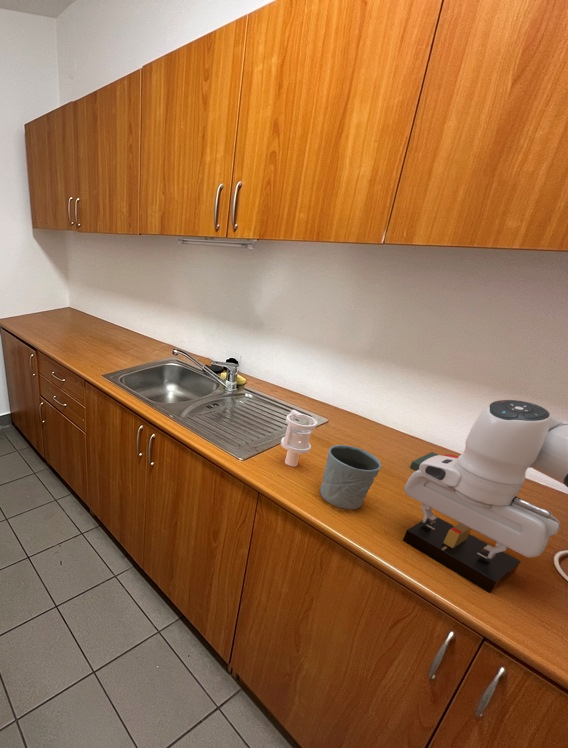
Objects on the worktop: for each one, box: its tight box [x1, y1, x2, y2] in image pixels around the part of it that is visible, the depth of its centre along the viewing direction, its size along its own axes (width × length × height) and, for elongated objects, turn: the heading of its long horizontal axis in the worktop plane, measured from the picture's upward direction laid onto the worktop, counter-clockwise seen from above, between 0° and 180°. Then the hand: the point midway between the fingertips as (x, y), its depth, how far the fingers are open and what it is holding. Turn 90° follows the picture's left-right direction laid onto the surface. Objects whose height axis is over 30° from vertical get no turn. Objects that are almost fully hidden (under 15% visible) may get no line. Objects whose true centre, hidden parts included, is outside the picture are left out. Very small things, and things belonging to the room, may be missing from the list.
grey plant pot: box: [319, 444, 382, 510], centre depth 94 cm, size 10×10×12 cm
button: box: [444, 453, 459, 458], centre depth 102 cm, size 4×4×2 cm
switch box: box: [409, 451, 439, 472], centre depth 103 cm, size 12×10×4 cm
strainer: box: [280, 409, 318, 468], centre depth 106 cm, size 7×7×15 cm
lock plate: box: [402, 515, 522, 594], centre depth 79 cm, size 14×10×3 cm
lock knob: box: [443, 522, 472, 548], centre depth 79 cm, size 6×2×4 cm, turn 116°
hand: (456, 538), depth 79 cm, fingers open, 8 cm apart
